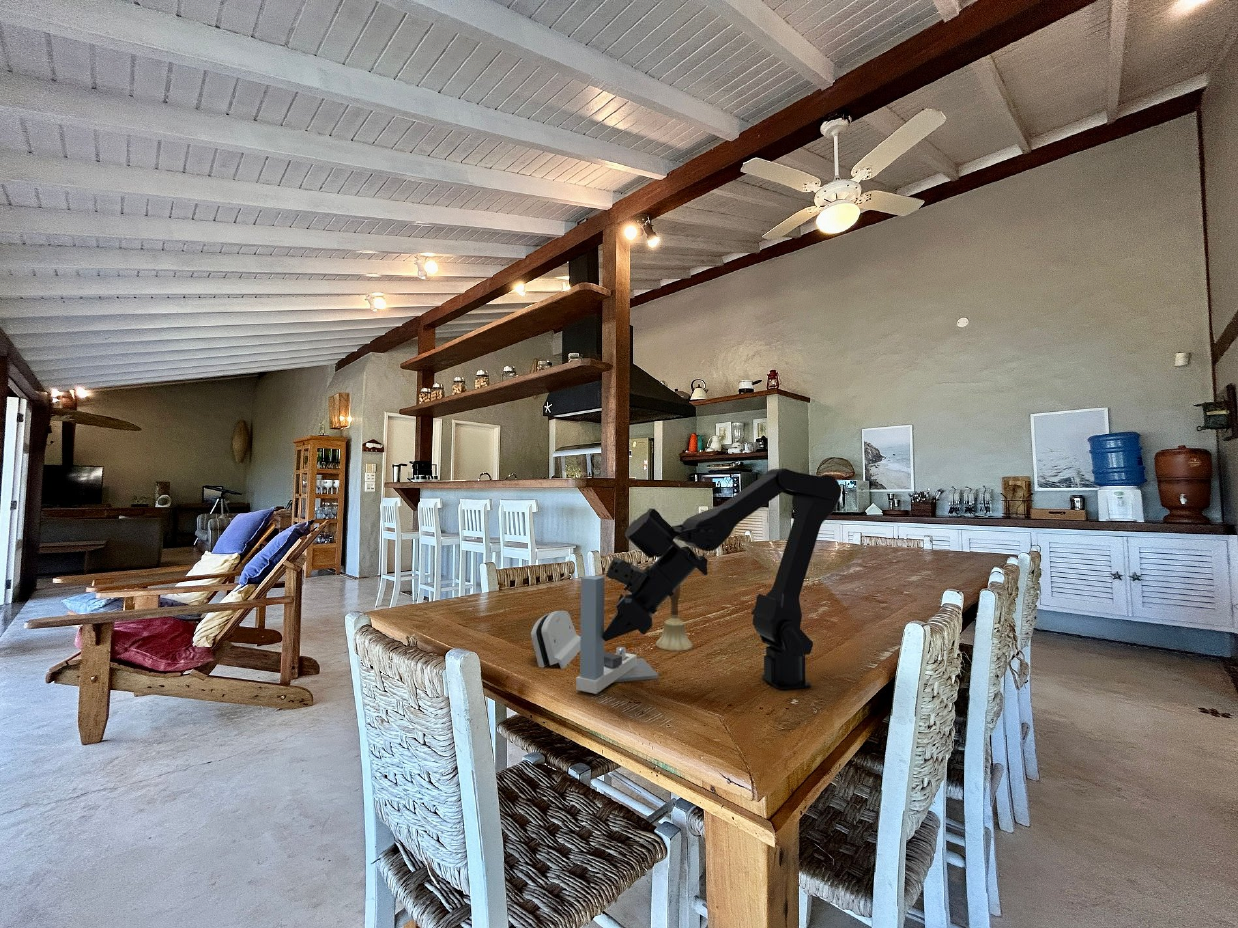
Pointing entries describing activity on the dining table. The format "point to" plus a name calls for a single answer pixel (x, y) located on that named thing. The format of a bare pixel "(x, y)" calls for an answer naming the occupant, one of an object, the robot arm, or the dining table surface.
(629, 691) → the dining table surface
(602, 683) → the link
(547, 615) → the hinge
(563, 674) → the dining table surface
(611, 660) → the pintle block
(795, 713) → the dining table surface
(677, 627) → the hand bell
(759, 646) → the dining table surface
